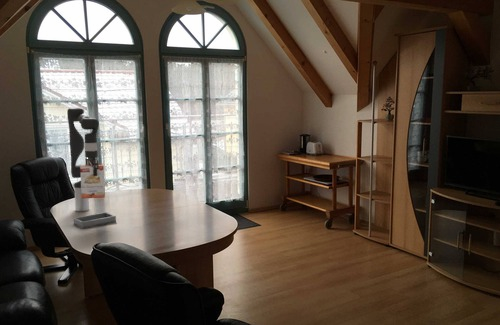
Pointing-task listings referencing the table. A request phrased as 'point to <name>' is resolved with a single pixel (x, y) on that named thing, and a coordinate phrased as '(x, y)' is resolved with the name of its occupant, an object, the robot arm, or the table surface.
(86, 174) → the cracker box
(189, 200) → the table surface
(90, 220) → the bin
